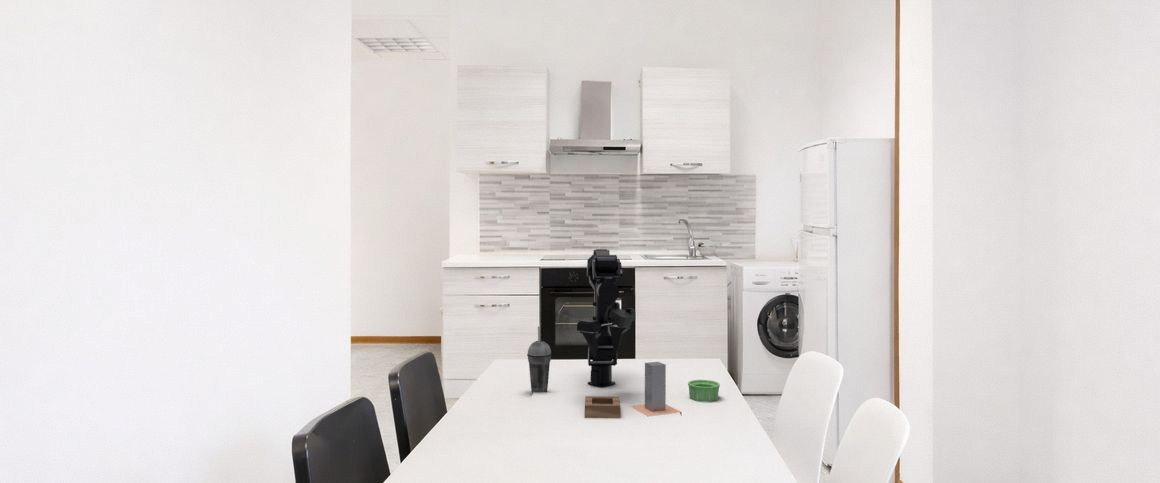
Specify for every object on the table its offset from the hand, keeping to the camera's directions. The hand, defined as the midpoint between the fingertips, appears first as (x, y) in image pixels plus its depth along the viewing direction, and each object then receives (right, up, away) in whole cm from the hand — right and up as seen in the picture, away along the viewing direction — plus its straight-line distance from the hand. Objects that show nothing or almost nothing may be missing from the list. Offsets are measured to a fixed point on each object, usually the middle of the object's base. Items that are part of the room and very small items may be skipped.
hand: (605, 353), depth 178 cm
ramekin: (+28, -13, +1) cm, 31 cm away
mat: (+13, -13, -14) cm, 23 cm away
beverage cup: (-19, -13, +6) cm, 24 cm away
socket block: (-1, -13, -17) cm, 22 cm away
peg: (+13, -12, -14) cm, 22 cm away
